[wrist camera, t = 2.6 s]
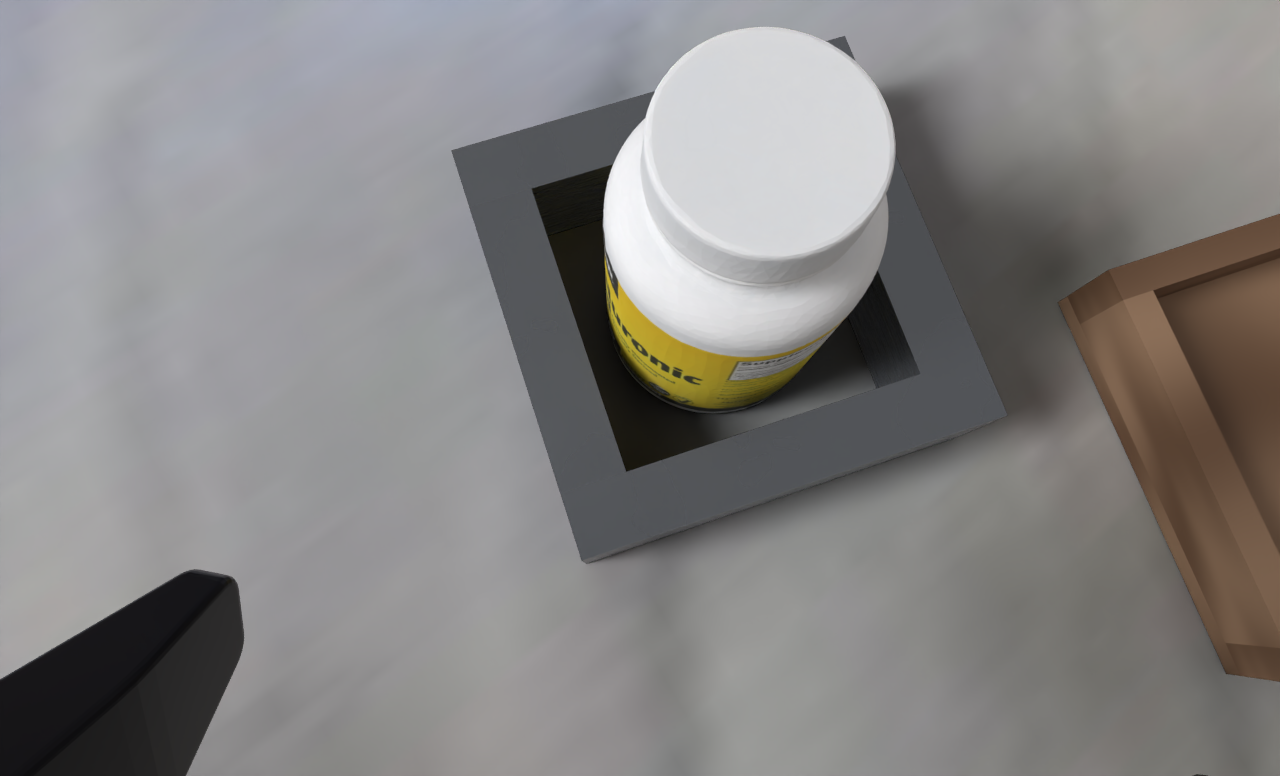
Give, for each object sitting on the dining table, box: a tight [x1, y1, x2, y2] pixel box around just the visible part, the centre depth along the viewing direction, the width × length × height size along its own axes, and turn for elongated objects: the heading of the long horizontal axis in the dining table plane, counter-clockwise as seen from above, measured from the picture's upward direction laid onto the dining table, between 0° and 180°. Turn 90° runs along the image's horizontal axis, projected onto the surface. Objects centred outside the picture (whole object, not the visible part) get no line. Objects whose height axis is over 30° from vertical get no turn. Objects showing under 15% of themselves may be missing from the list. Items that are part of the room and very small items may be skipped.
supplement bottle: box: [603, 27, 896, 413], centre depth 19 cm, size 5×5×10 cm
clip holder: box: [451, 36, 1007, 564], centre depth 22 cm, size 10×10×3 cm
